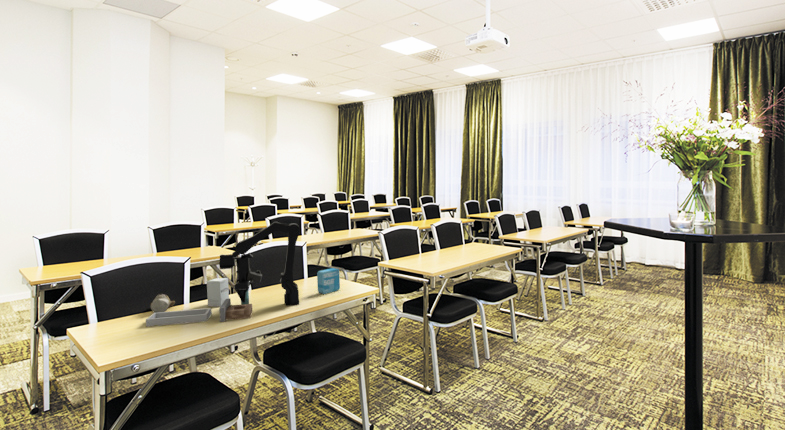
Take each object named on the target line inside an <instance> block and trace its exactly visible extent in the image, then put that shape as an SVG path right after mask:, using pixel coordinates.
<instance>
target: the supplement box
mask: <svg viewBox="0 0 785 430" xmlns="http://www.w3.org/2000/svg"><path fill="white" fill-rule="evenodd" d="M206 290H207V292H206V294H207V295H206V296H207V307H219V308H220V307H221V305H222V304H223V302H224V301H225V299H230V292H229V278H228V277H227V278H226V277H221V278H220V277H216V278H213V279H210V280H207V281H206Z"/></svg>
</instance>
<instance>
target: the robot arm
mask: <svg viewBox="0 0 785 430" xmlns="http://www.w3.org/2000/svg"><path fill="white" fill-rule="evenodd" d="M276 231H278V232H283V233H287V240H288V241H287V248H286V249H287V250H286V260H285V268H284V272H281V273H280V280H279V284H281V288H282V289H284V290H285V293H284V295H283V296H284V297H283V298H284V304H285V306H295V305H299V304H300V297H299V296H300V295H299V294H300V293H299V287H298V284H297V282H295V281H294V273H293V272H294V270H293V269H294V262H295V261H294V260H295V253H296V252H295V251H296V244H297V240H298V239H299V235H300V232H301V231H300V226H299V225H298V223H296V222H295V223H294V222H293V223H284V222H278V221H273V222H272V223H271V224H270V225H268V226H267V227H264V228H263V229H262V230H260V231H259V232H256V233H255V234H254V235H251V236H250V237H247V238H245V239H243V240H240V241H238V242H237V243H236V244H235V248H234V249H235V251H233V252H232V254H231V253H230V254H220V255H219V263H218V265H219V267H218V268H219V269H220V270H228V269H229V270H230V269H234V267H236V270H235V273H236V277H237V278H236V283H235V284H234V285H233V286H234V288H233V289H234V291H235V292H236V294H237V295H238V297H239V299H240V302H241V301H242V302H245V298H246V291H247V290H248V292H249V290H250V286H251V285H252V284H253V282H257V283H261V282H262V278H263V274H262V273H261V270H259V269H258V270H256V271H252V269H251V268H250V259H253V258H254V255H253V254H251V252H248V251H250V250H251V249H252V248H253V247H254V246H255V245H256V244H257V243H259V242H260V241H263V239H266V238H267V237H268V236H270V235H271V234H273V233H275V232H276ZM247 252H248V253H247ZM246 253H247V254H246Z"/></svg>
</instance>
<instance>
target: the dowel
mask: <svg viewBox="0 0 785 430" xmlns="http://www.w3.org/2000/svg"><path fill="white" fill-rule="evenodd" d="M249 294H250V293H249V291H248V290H247V291H246V298H245V302H242V301H241V300H240V305H242V304H250V295H249Z"/></svg>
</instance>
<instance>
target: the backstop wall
mask: <svg viewBox="0 0 785 430" xmlns="http://www.w3.org/2000/svg"><path fill="white" fill-rule="evenodd" d="M231 303H232V301H231V298H229V299H225V301H224V302H223V304H222V305H221V307H219V308H218V310H219V311H218V312H219V322H220V323H222V322H223V323H224V322H226V321H227V320H226V310H227V309H228V307H229V306H230V305H232V304H231Z"/></svg>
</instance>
